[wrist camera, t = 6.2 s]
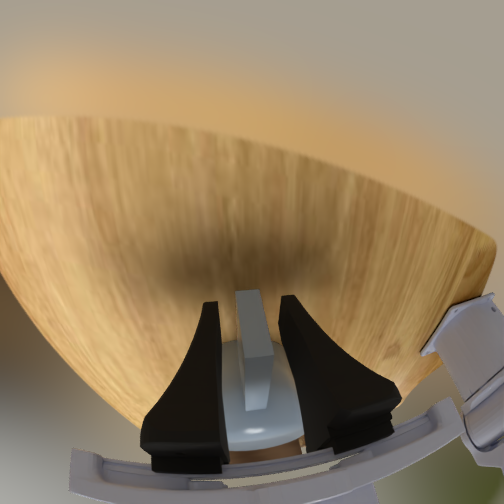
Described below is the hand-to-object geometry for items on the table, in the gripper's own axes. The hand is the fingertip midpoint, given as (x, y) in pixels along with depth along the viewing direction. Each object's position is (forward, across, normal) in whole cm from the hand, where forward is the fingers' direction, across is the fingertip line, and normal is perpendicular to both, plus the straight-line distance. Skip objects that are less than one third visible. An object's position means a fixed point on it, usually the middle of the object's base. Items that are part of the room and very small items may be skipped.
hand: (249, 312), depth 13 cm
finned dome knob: (+3, 0, +6) cm, 6 cm away
